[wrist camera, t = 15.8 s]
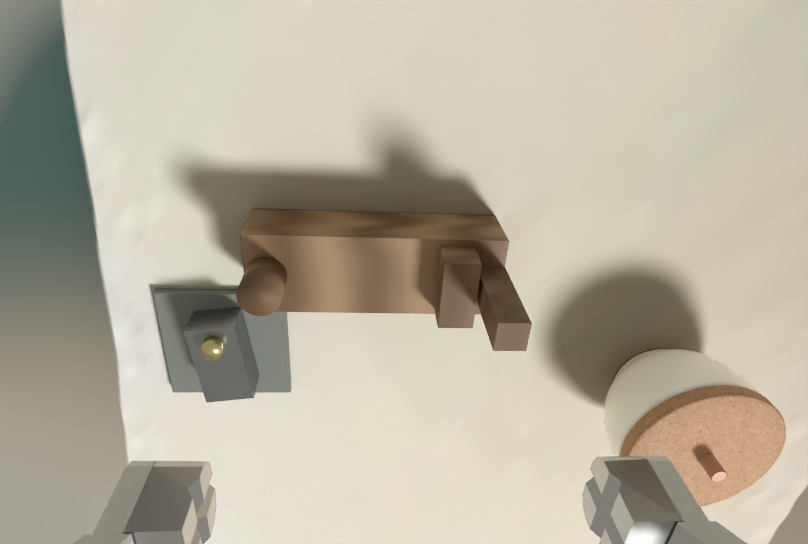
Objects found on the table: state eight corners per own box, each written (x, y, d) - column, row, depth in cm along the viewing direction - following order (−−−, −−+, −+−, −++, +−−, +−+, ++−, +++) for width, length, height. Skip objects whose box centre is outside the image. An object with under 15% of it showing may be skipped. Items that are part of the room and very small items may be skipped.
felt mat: (285, 291, 42) (284, 294, 42) (291, 387, 47) (290, 392, 47) (155, 289, 42) (152, 292, 41) (174, 387, 46) (172, 392, 46)
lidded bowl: (721, 308, 46) (815, 396, 36) (717, 412, 52) (796, 510, 42) (576, 343, 47) (631, 438, 37) (589, 441, 53) (639, 545, 43)
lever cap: (259, 375, 46) (251, 404, 42) (215, 379, 46) (204, 409, 42) (241, 306, 42) (231, 333, 39) (193, 311, 42) (179, 338, 39)
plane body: (495, 215, 40) (537, 294, 30) (484, 283, 43) (520, 376, 33) (253, 208, 39) (213, 289, 29) (258, 279, 42) (225, 375, 32)
